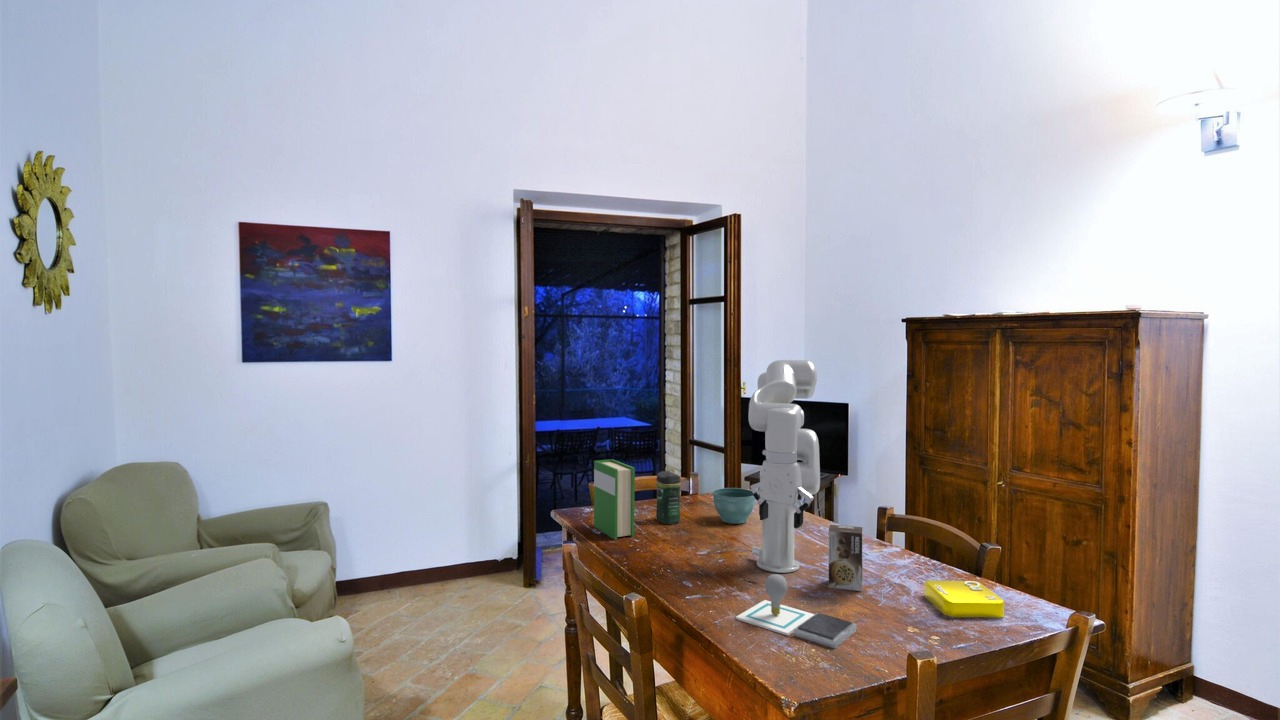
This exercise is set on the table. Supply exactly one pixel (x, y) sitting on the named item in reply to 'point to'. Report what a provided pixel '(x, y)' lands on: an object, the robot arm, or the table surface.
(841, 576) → the coffee box
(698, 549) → the table surface
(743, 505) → the flower pot
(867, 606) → the table surface
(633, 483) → the hardback book
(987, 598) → the element tile
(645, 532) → the table surface
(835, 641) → the ink pad
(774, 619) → the marked board
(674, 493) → the coffee jar
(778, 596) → the light bulb
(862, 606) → the table surface
